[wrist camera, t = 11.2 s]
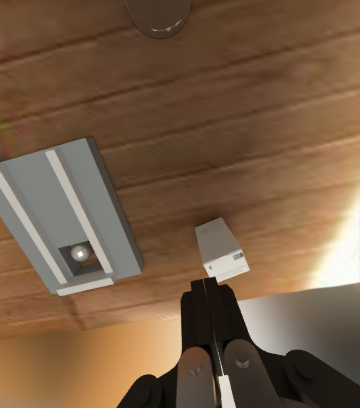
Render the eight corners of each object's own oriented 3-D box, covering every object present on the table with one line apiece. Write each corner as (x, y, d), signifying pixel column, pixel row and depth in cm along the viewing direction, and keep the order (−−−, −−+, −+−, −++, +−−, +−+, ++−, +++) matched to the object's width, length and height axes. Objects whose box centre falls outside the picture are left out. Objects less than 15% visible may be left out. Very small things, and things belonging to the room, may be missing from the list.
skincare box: (201, 243, 39) (212, 287, 28) (193, 226, 38) (200, 265, 26) (229, 232, 38) (251, 273, 27) (221, 214, 37) (242, 249, 25)
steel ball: (78, 243, 39) (64, 243, 35) (96, 238, 39) (83, 238, 35) (80, 262, 38) (66, 264, 35) (98, 257, 38) (86, 259, 34)
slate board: (-13, 168, 33) (-52, 174, 27) (93, 137, 31) (75, 138, 26) (60, 283, 42) (42, 306, 36) (144, 264, 41) (139, 284, 35)
